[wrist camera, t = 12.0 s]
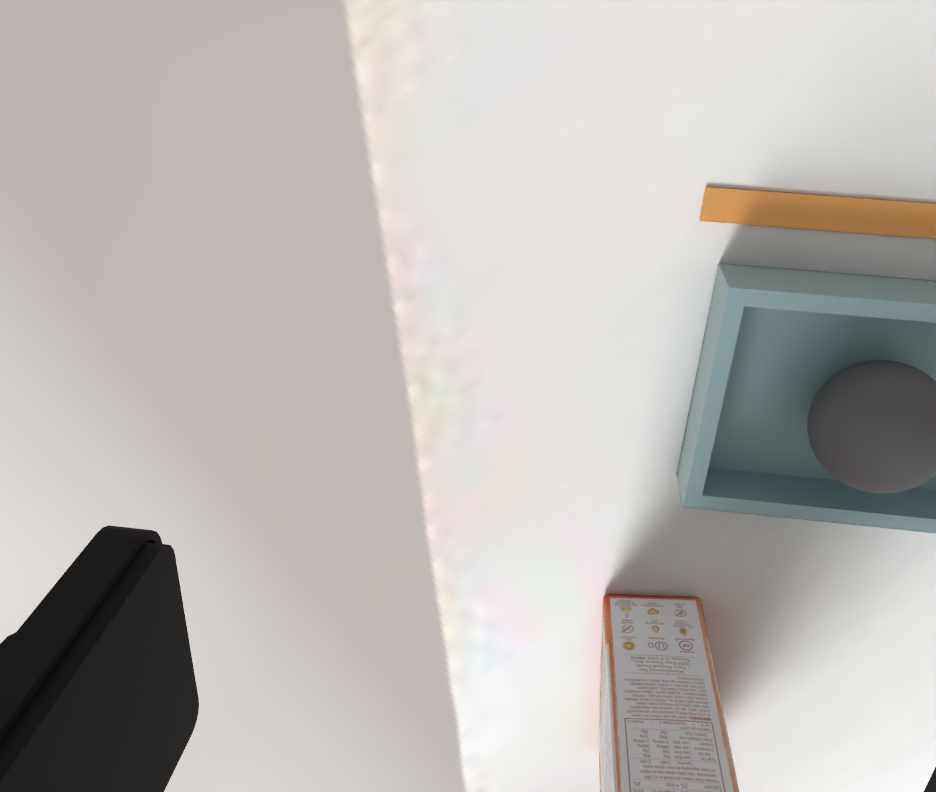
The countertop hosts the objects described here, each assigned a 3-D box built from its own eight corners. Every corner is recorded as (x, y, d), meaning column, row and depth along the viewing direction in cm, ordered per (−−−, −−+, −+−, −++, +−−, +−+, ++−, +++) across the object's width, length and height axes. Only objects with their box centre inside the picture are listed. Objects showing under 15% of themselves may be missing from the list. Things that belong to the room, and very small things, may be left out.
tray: (705, 186, 36) (715, 205, 34) (1138, 218, 35) (1183, 241, 32) (653, 470, 44) (658, 504, 41) (1010, 506, 42) (1038, 544, 40)
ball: (812, 331, 39) (844, 394, 34) (947, 344, 38) (1001, 410, 33) (782, 439, 42) (807, 512, 36) (907, 452, 41) (950, 529, 36)
